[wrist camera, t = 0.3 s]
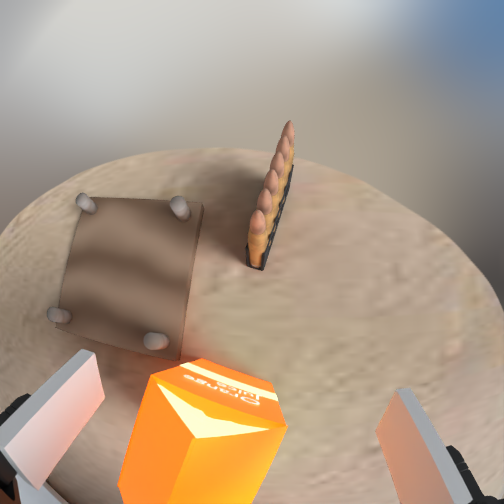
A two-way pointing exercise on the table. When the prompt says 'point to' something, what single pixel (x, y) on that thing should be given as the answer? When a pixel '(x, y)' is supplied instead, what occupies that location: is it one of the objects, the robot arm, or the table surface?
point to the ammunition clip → (271, 201)
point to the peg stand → (130, 273)
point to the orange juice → (201, 437)
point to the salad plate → (38, 494)
